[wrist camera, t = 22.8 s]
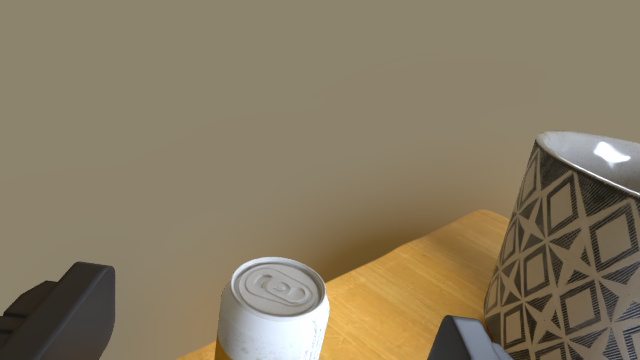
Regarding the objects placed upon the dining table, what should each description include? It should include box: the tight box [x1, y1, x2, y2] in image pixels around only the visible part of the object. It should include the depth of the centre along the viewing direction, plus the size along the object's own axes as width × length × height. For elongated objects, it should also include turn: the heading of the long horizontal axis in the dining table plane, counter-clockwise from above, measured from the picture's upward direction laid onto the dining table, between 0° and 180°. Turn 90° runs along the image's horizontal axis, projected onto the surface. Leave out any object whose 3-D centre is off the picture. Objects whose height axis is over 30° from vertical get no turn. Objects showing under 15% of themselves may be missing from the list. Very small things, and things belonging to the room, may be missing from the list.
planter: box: [484, 131, 640, 360], centre depth 40 cm, size 26×26×22 cm
